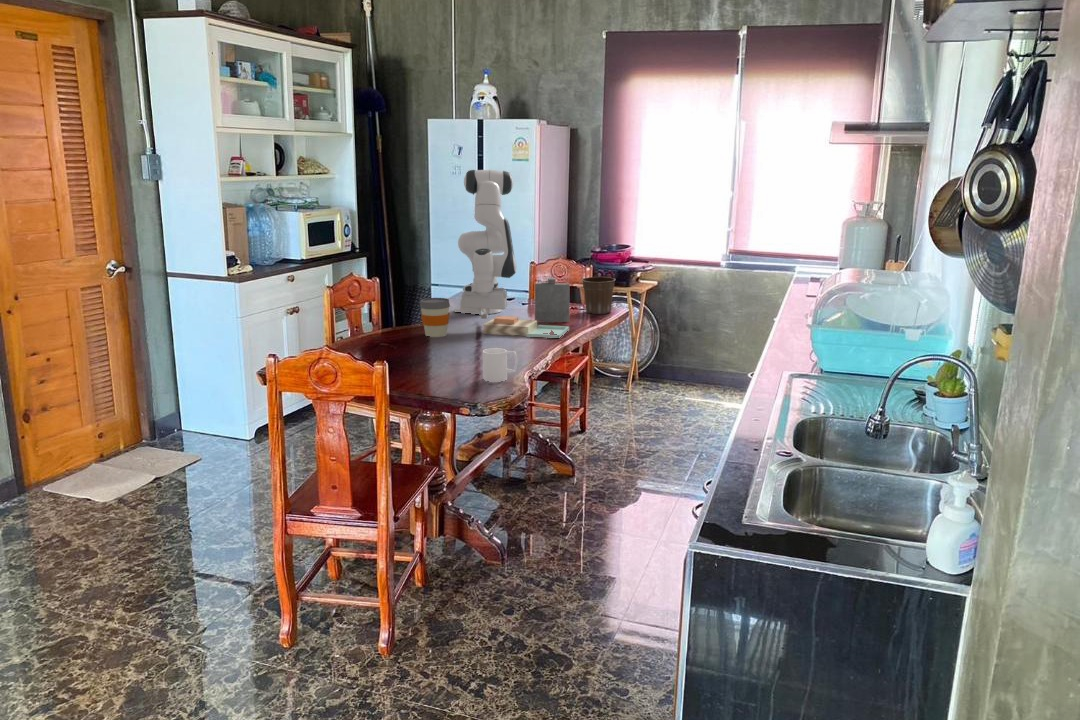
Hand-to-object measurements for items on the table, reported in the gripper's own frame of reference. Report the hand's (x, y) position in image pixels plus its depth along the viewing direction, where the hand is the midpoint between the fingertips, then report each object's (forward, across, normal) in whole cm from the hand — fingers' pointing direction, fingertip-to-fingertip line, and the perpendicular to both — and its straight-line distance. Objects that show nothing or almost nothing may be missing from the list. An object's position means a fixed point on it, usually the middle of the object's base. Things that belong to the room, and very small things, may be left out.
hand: (484, 318), depth 356 cm
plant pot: (+5, -40, -52) cm, 66 cm away
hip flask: (+5, -24, -25) cm, 35 cm away
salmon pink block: (+1, -10, 0) cm, 10 cm away
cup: (+6, -31, +73) cm, 80 cm away
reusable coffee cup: (+5, +17, +14) cm, 23 cm away
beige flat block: (+5, -12, 0) cm, 13 cm away
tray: (+5, -29, 0) cm, 29 cm away
